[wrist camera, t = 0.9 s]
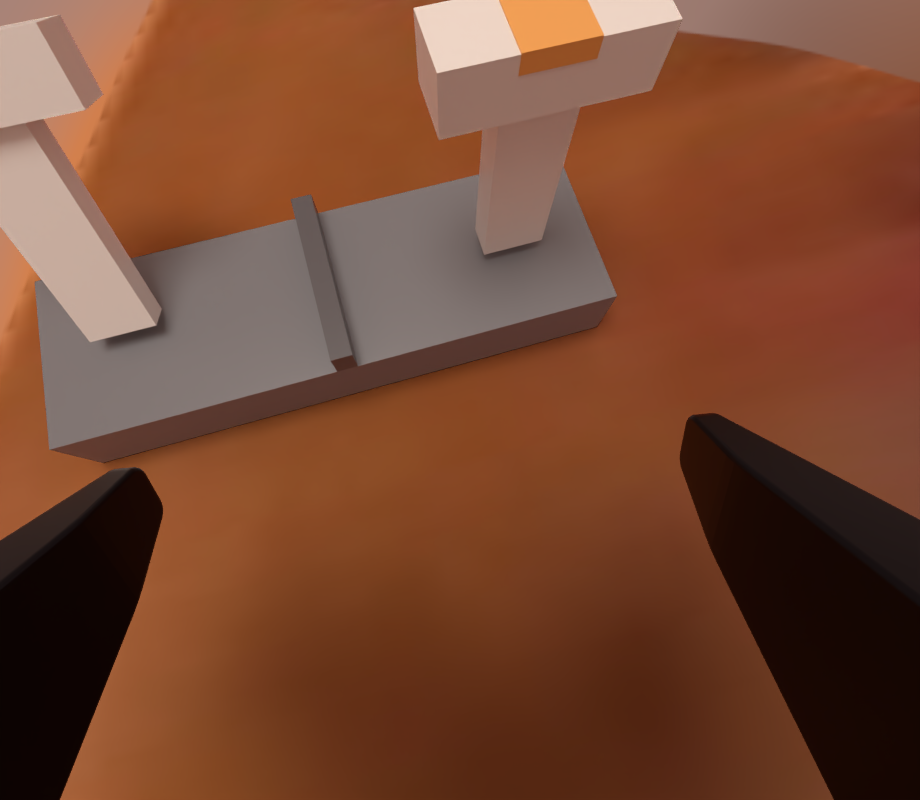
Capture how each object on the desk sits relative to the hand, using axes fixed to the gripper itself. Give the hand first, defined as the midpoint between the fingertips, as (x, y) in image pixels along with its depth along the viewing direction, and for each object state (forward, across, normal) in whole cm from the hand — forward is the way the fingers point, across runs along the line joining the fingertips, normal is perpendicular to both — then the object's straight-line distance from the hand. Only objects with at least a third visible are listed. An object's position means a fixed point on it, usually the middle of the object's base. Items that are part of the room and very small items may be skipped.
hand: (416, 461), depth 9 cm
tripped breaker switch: (+15, -3, +1) cm, 15 cm away
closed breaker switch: (+12, +12, +3) cm, 17 cm away
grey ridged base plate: (+15, +4, +4) cm, 16 cm away
